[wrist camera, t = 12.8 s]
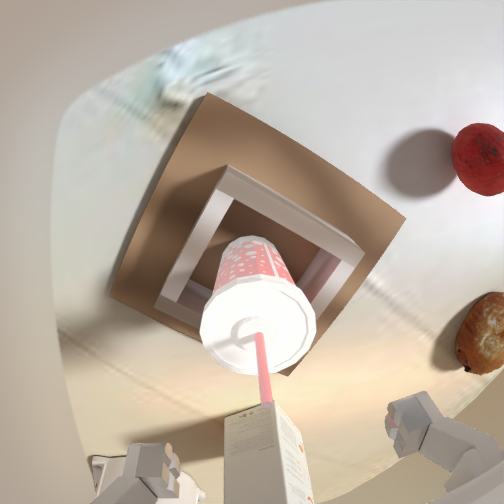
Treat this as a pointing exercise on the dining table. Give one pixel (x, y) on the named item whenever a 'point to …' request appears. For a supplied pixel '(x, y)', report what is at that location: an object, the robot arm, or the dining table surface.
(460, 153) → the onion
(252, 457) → the small box
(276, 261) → the beverage cup
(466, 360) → the bread roll
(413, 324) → the dining table surface
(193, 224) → the walnut board
